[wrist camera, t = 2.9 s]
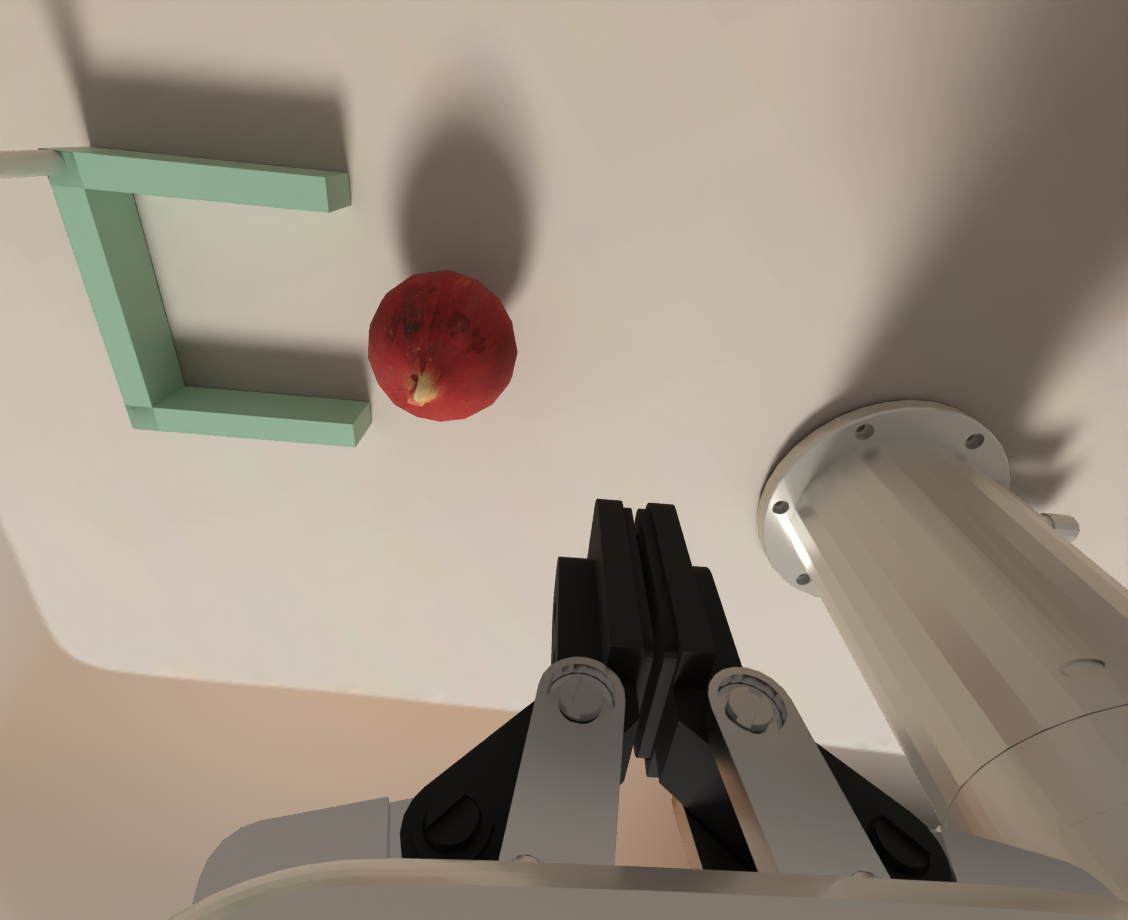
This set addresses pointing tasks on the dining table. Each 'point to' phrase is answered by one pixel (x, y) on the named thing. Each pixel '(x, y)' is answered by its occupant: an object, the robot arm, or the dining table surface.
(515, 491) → the dining table surface
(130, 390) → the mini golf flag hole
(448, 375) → the onion
